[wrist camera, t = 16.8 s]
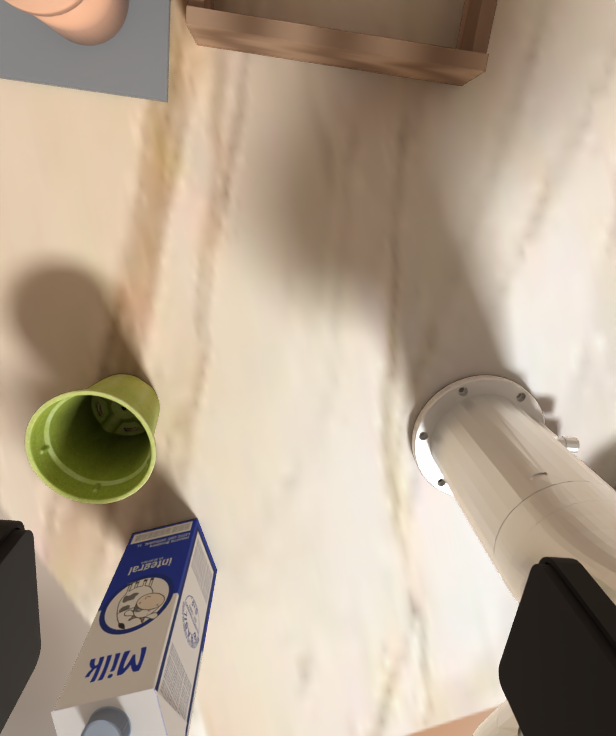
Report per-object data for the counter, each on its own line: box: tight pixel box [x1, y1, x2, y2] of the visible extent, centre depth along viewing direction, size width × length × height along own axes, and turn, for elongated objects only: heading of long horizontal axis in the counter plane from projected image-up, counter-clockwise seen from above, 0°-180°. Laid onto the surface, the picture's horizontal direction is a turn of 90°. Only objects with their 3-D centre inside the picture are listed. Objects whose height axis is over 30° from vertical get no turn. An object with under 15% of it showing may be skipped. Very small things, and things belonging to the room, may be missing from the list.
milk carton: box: [51, 519, 217, 736], centre depth 40 cm, size 7×7×20 cm
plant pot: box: [25, 374, 160, 504], centre depth 40 cm, size 9×9×9 cm
